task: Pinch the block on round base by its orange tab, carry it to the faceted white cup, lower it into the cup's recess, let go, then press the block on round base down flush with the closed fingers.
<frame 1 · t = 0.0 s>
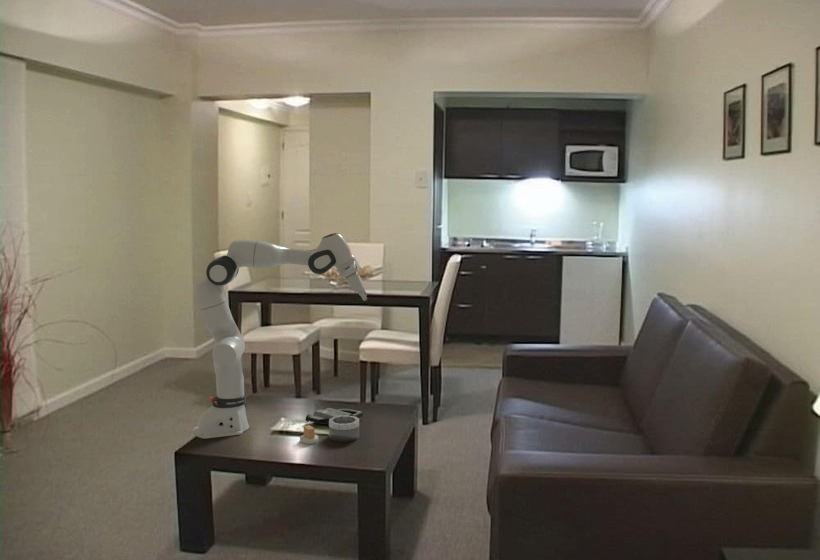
hand: (365, 298, 309), 54 cm above the table, tool tilted 30°, fingers open, 8 cm apart
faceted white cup: (344, 436, 302), on the table
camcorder: (337, 423, 320), on the table
block on round base: (309, 441, 297), on the table
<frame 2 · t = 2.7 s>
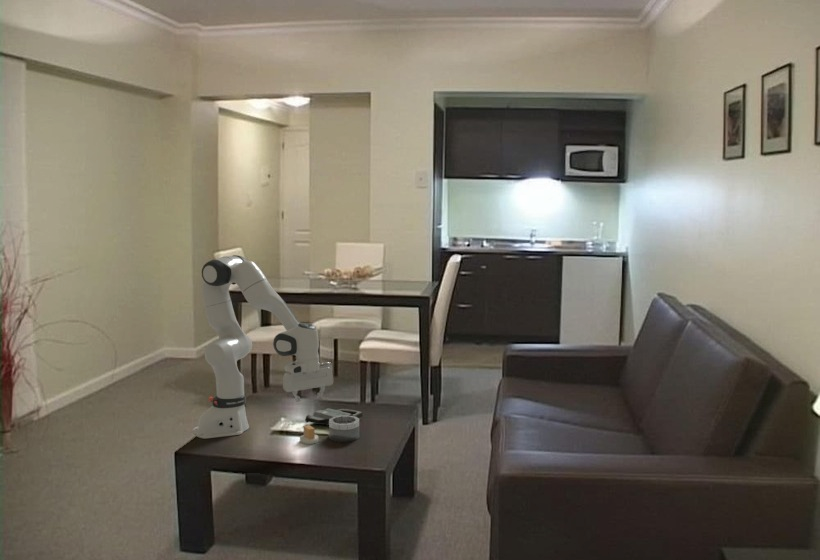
hand: (309, 399, 295), 17 cm above the table, tool pointing down, fingers open, 8 cm apart
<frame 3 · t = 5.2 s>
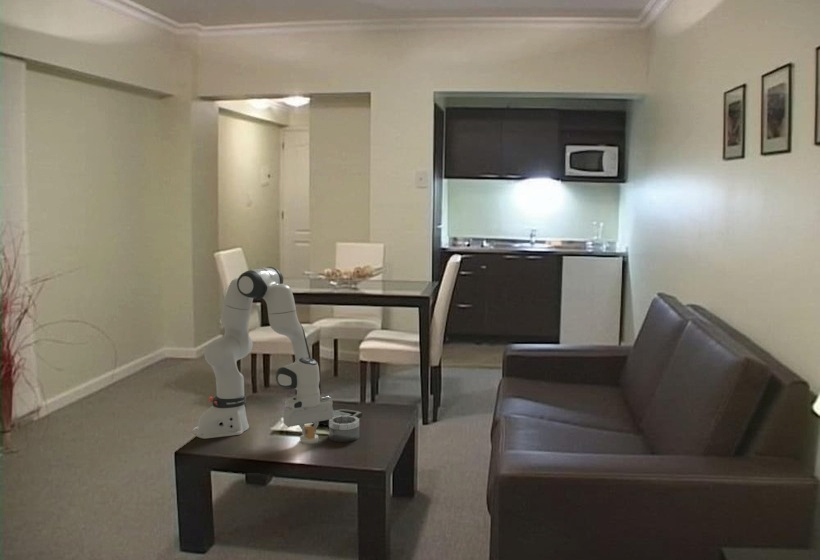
hand: (309, 433, 297), 3 cm above the table, tool pointing down, fingers closed on block on round base, 2 cm apart
block on round base: (309, 441, 297), on the table, touching gripper
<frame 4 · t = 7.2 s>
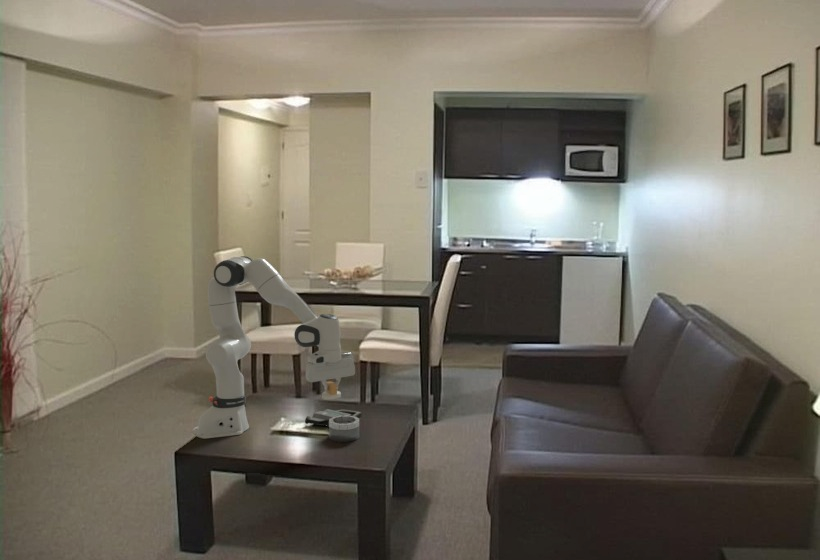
hand: (331, 389, 297), 20 cm above the table, tool pointing down, fingers closed on block on round base, 2 cm apart
block on round base: (331, 397, 298), point 17 cm above the table, touching gripper
when the fingers open (9 cm above the table, at t = 9.2 s): block on round base stays where it is, resting on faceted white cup.
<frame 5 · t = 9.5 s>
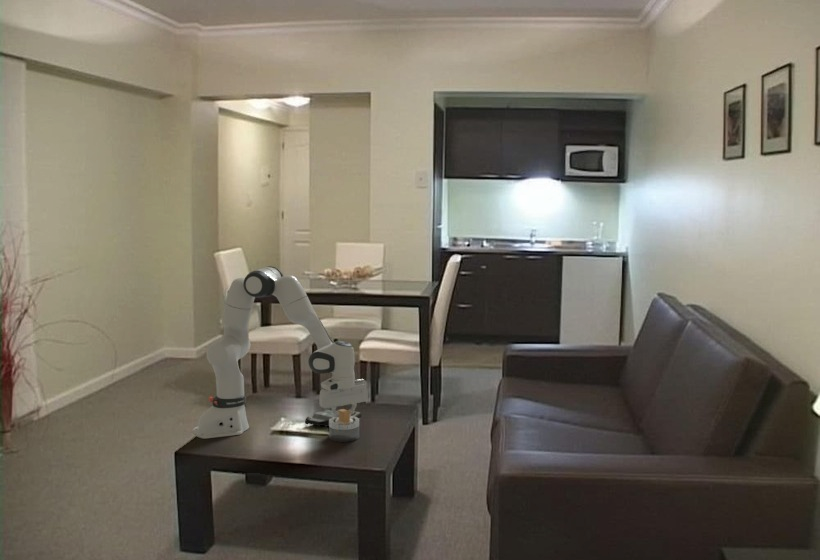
hand: (344, 415, 301), 9 cm above the table, tool pointing down, fingers open, 5 cm apart
block on round base: (344, 424, 301), point 5 cm above the table, touching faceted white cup
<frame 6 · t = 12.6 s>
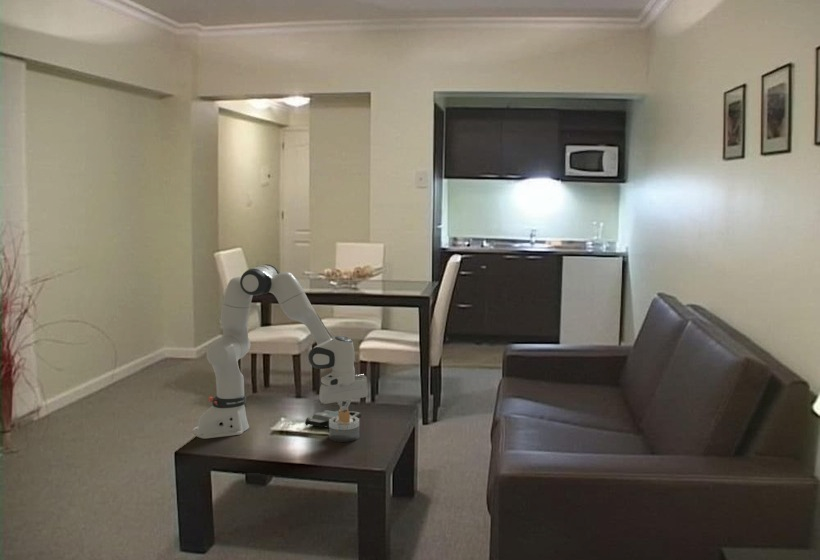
hand: (344, 410, 301), 11 cm above the table, tool pointing down, fingers closed, pressing on block on round base
block on round base: (344, 424, 301), point 5 cm above the table, touching gripper, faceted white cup
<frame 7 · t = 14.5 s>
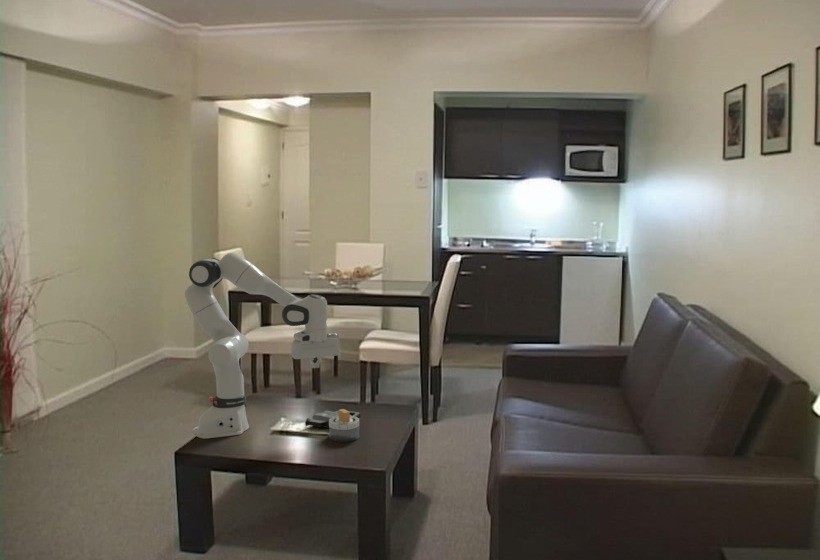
hand: (315, 367, 308), 26 cm above the table, tool pointing down, fingers closed
block on round base: (344, 424, 301), point 5 cm above the table, touching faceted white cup
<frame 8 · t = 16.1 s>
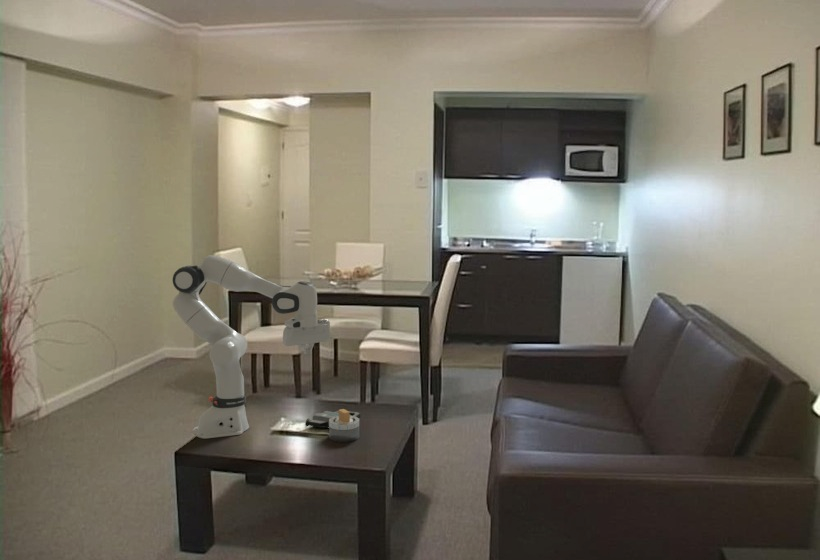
hand: (307, 354, 310), 31 cm above the table, tool pointing down, fingers closed
at the end: block on round base 0.0 cm off-centre on the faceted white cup, point 5.0 cm above the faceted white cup's base; block on round base tilted 0°; the gripper is holding nothing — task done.
